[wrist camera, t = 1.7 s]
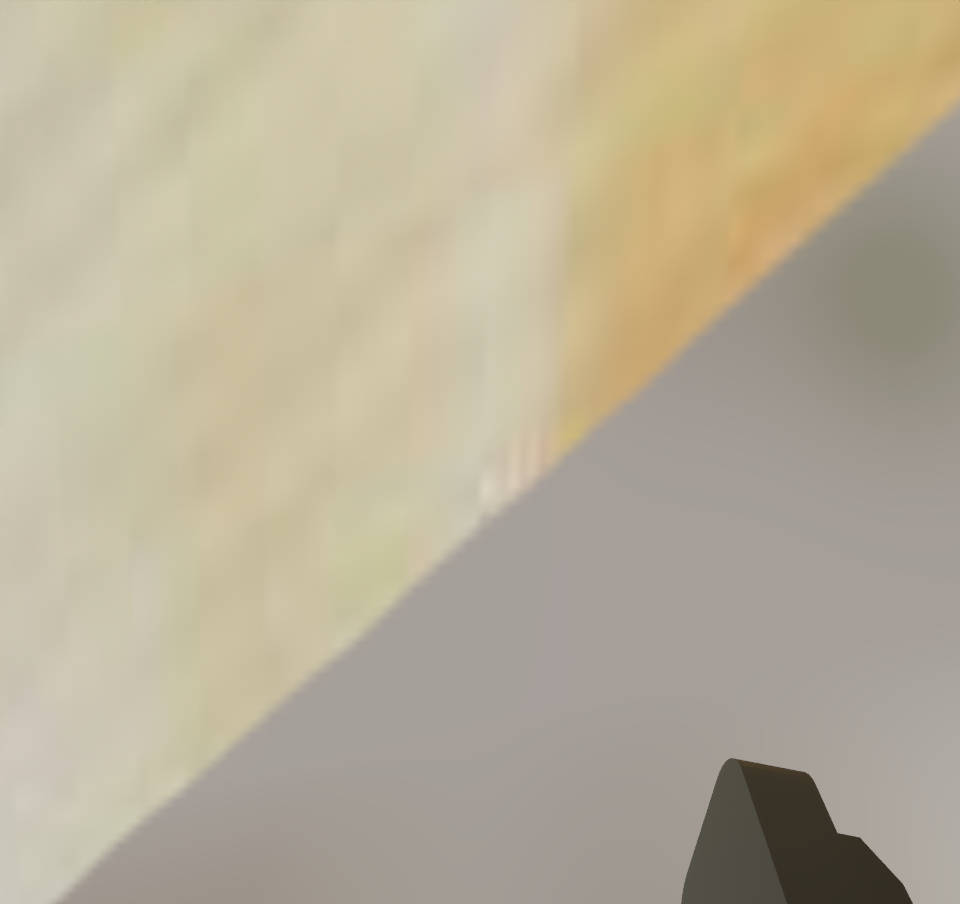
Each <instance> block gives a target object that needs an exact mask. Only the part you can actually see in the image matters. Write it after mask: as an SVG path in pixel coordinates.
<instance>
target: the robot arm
mask: <svg viewBox="0 0 960 904" xmlns="http://www.w3.org/2000/svg"><path fill="white" fill-rule="evenodd" d="M681 904H913V903H912V901H911V899H910V897H909V895H908V893H907V891H906V890H905V887H904V885H903V884H902V883H901V882H900V881H899V880H898V878H897V877H896V876H895V875H894V874H893V873H892V872H891V871H890V870H889V869H888V868H887V866H886V865H885V864H884V863H883V862H882V861H881V860H880V859H879V858H878V857H877V856H876V855H875V854H874V852H873V851H872V850H871V849H870V848H869V847H868V846H867V845H866V844H865V843H864V842H863V841H862V839H861V838H859V837H854V836H849V835H844V834H839V833H837V831H836V829H835V827H834V824H833V822H832V820H831V818H830V816H829V813H828V811H827V809H826V807H825V804H824V802H823V800H822V798H821V796H820V794H819V791H818V789H817V787H816V785H815V783H814V781H813V779H812V778H811V776H810V775H809V774H807V773H805V772H801V771H796V770H790V769H785V768H780V767H775V766H769V765H764V764H759V763H754V762H748V761H743V760H738V759H732V758H731V759H728V760H727V761H726V762H725V763H724V765H723V766H722V768H721V771H720V773H719V776H718V778H717V781H716V784H715V787H714V791H713V794H712V797H711V800H710V803H709V806H708V809H707V813H706V816H705V819H704V822H703V825H702V828H701V832H700V835H699V838H698V841H697V844H696V847H695V850H694V854H693V857H692V860H691V863H690V866H689V869H688V872H687V876H686V879H685V884H684V889H683V895H682V903H681Z"/></svg>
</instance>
